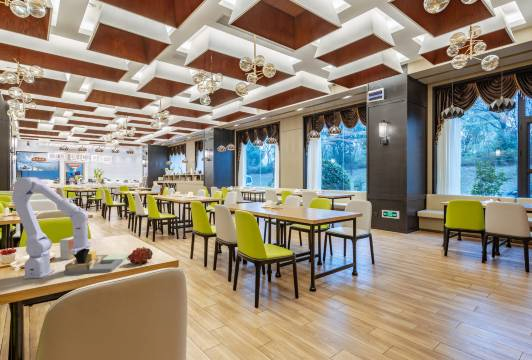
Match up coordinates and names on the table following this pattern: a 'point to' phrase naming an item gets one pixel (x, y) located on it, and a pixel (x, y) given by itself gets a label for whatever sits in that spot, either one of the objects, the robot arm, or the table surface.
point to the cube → (90, 256)
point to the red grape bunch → (140, 255)
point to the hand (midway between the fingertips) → (81, 265)
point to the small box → (66, 248)
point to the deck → (103, 264)
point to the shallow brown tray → (76, 266)
